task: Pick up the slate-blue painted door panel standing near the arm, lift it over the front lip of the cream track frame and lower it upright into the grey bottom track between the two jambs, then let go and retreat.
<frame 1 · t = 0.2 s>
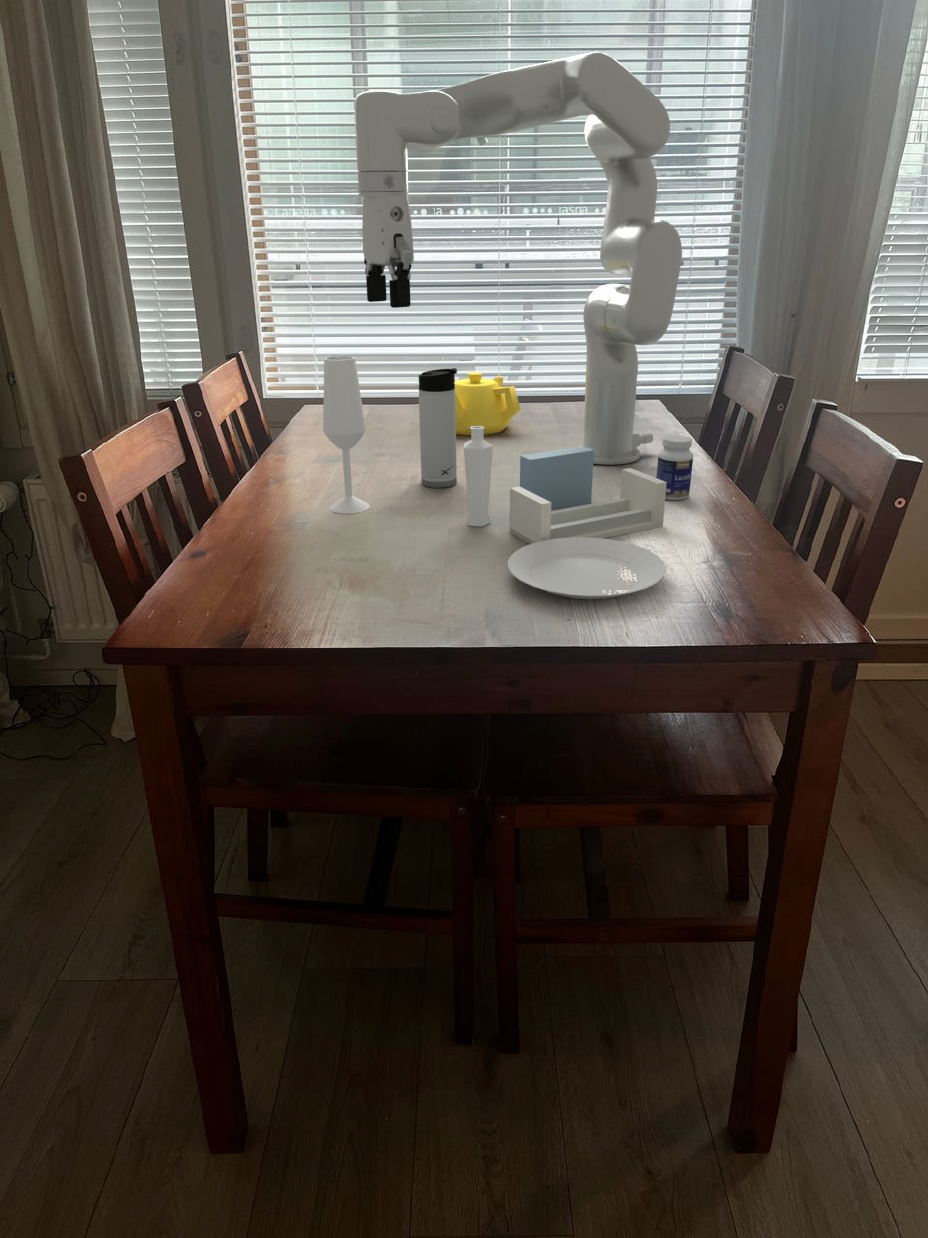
hand: (388, 303, 145), 31 cm above the table, fingers open, 9 cm apart
champagne flute: (349, 508, 151), on the table
travel mug: (440, 484, 162), on the table
plate: (585, 580, 122), on the table
perfume bottle: (477, 523, 143), on the table
teapot: (475, 429, 200), on the table
track frame: (586, 529, 139), on the table
door panel: (555, 506, 150), on the table
pill bottle: (671, 497, 154), on the table
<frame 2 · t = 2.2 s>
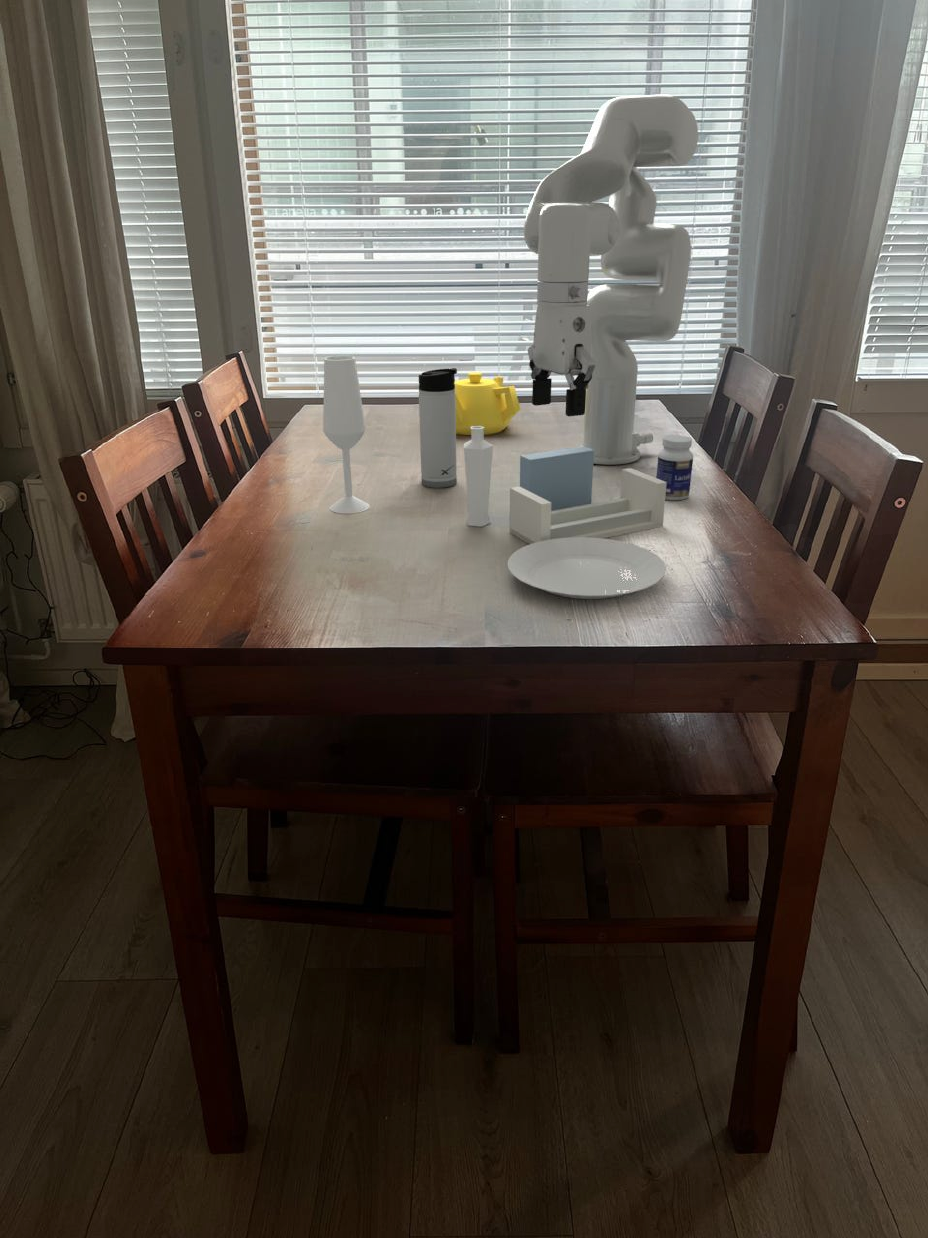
hand: (557, 409, 143), 16 cm above the table, fingers open, 9 cm apart
nothing on the table moved.
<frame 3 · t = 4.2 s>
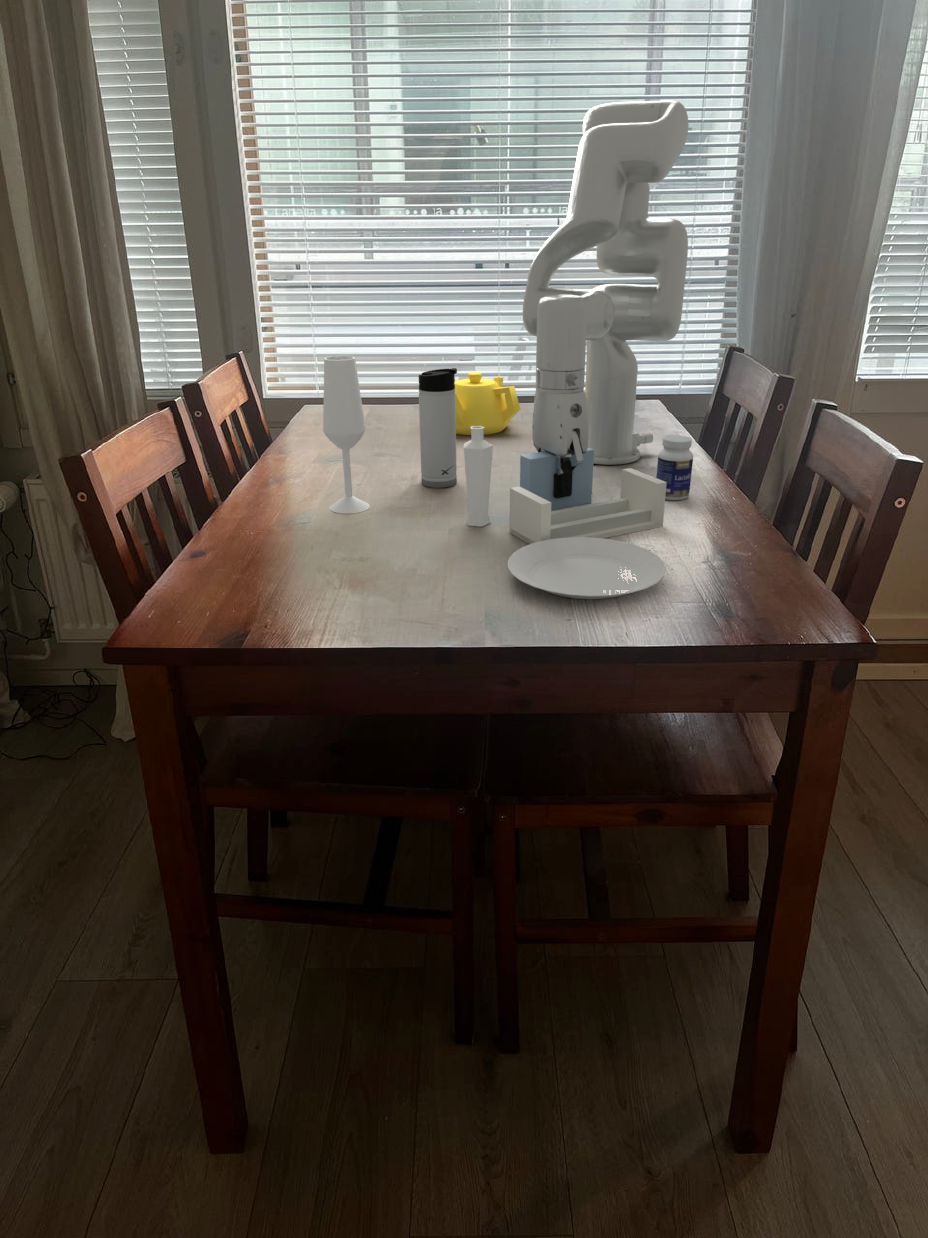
hand: (556, 492, 149), 2 cm above the table, fingers closed on door panel, 3 cm apart
door panel: (555, 506, 150), on the table, touching gripper
everything else where it was.
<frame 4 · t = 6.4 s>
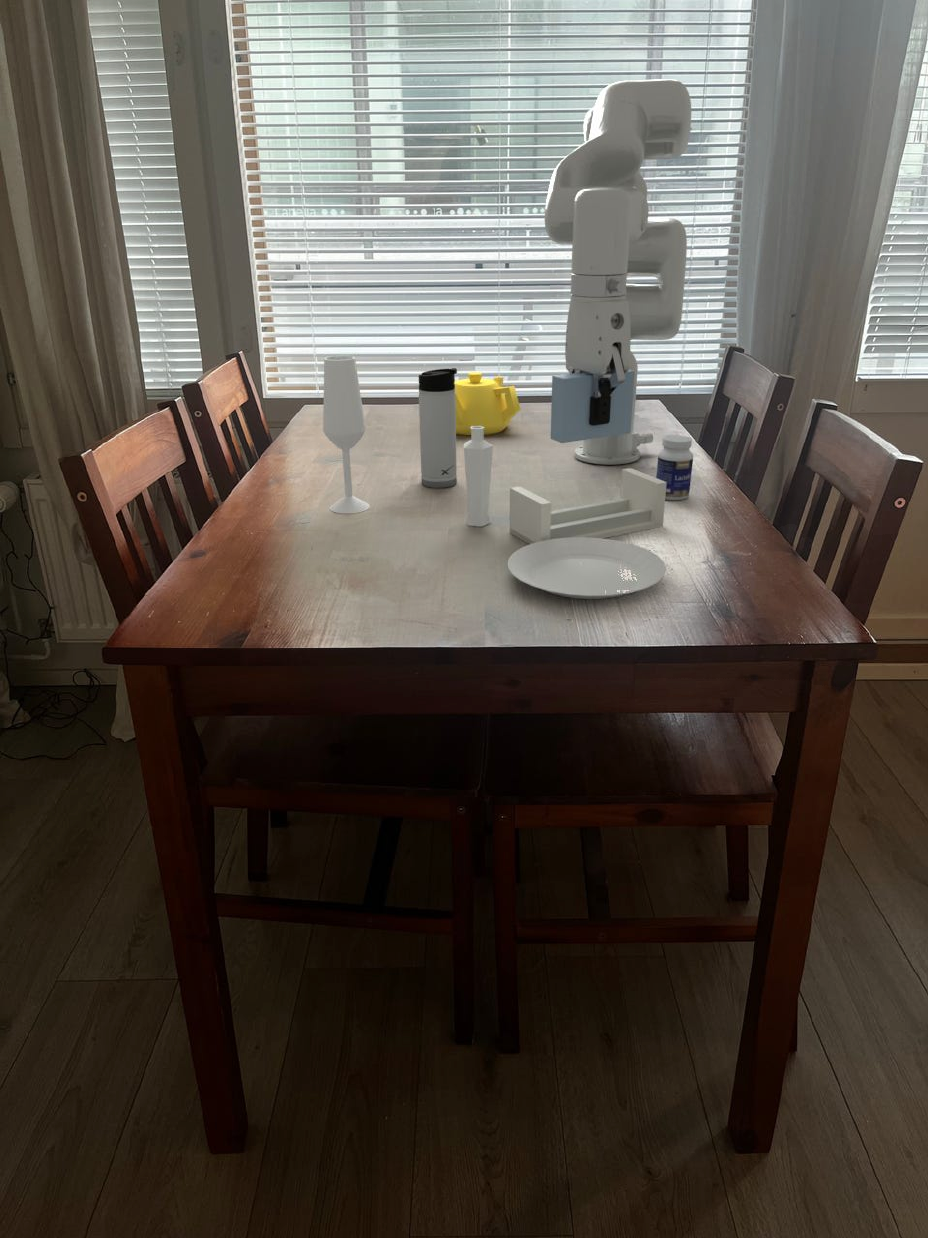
hand: (591, 420, 132), 17 cm above the table, fingers closed on door panel, 3 cm apart
door panel: (590, 435, 133), point 14 cm above the table, touching gripper
everything else where it was.
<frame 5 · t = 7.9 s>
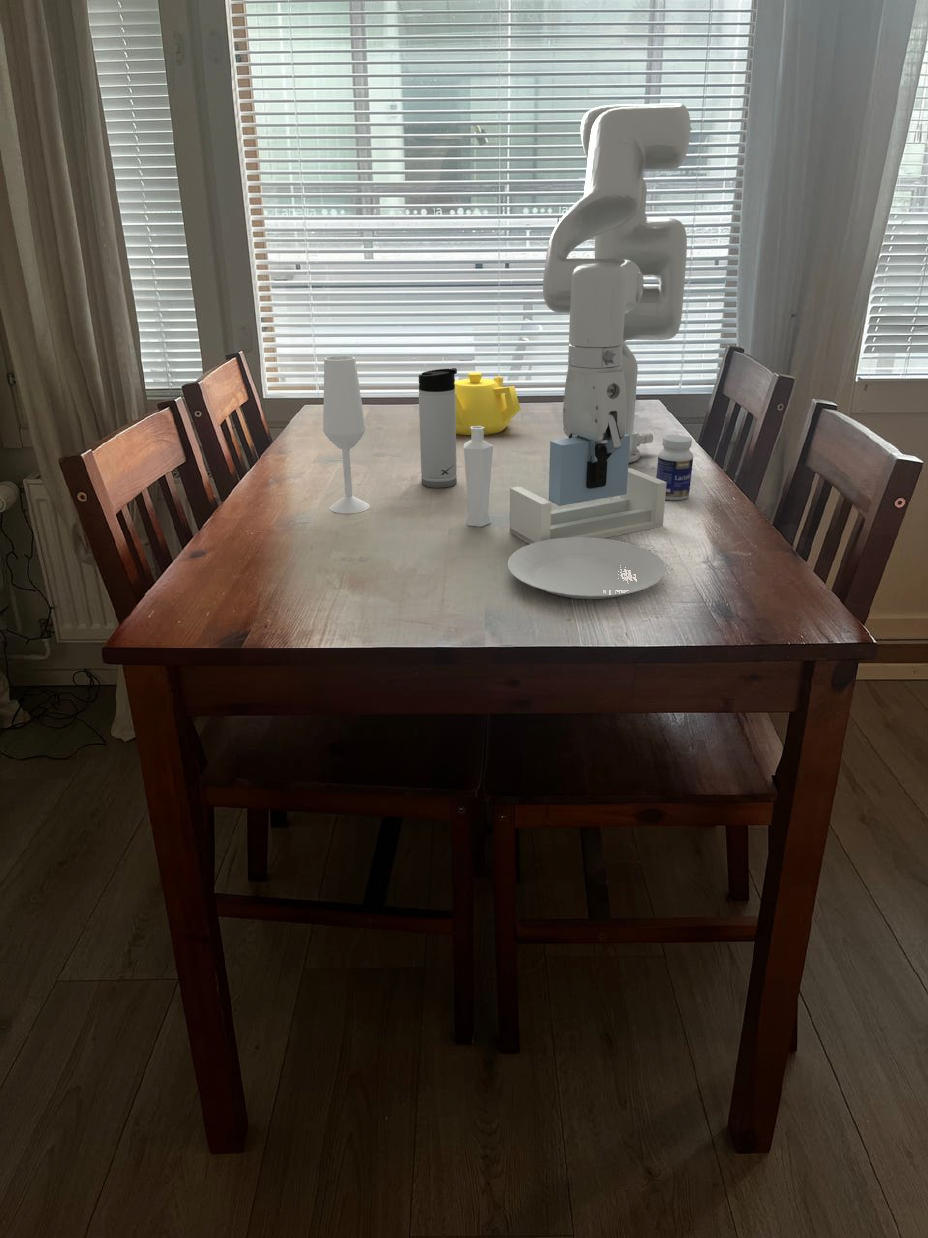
hand: (588, 482, 136), 7 cm above the table, fingers closed on door panel, 3 cm apart
door panel: (587, 497, 137), point 5 cm above the table, touching gripper
everything else where it was.
when the fingers open (4 cm above the table, at t = 8.8 s): door panel drops 1 cm, resting on track frame.
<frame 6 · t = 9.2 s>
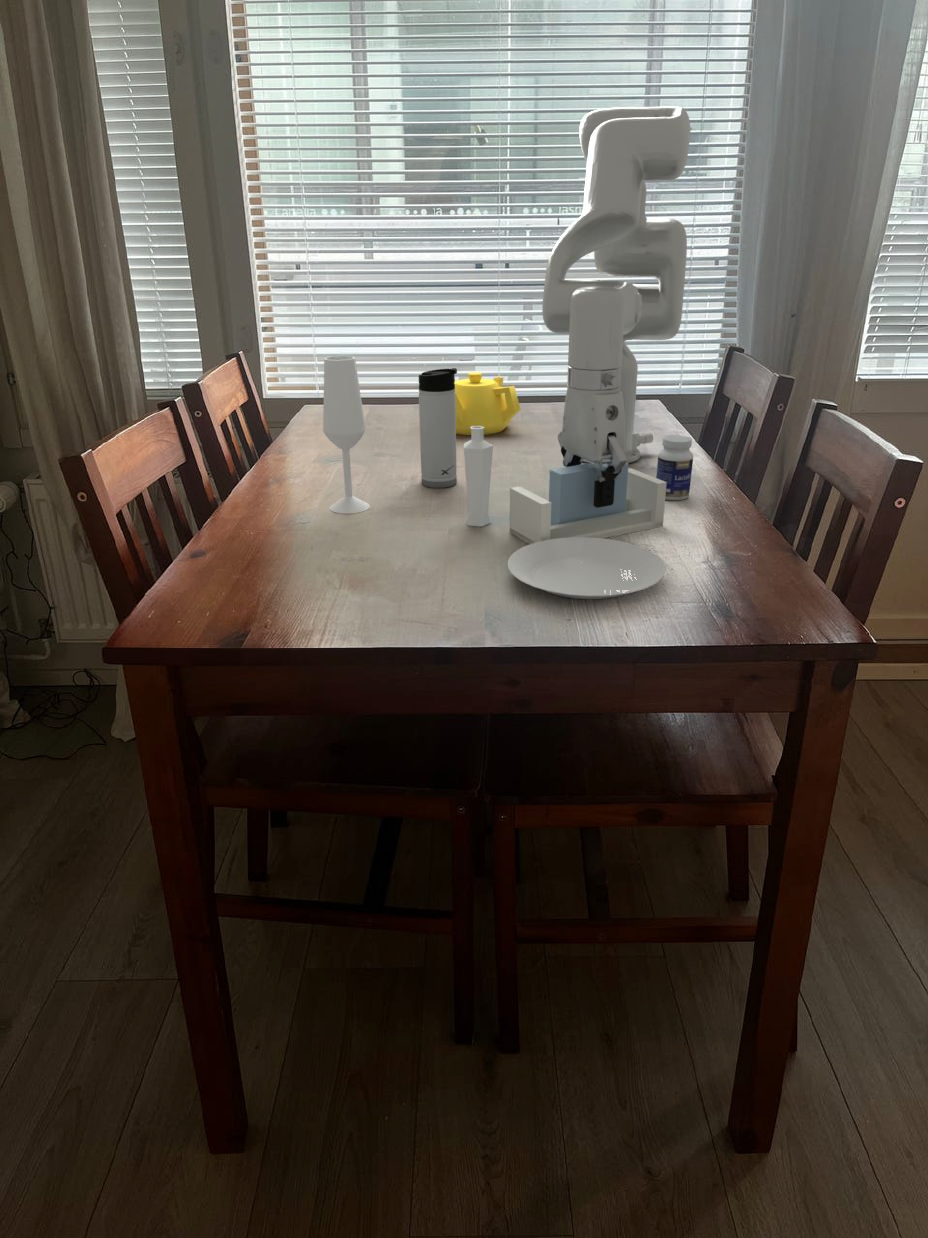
hand: (588, 497, 137), 5 cm above the table, fingers open, 7 cm apart
door panel: (586, 524, 139), point 1 cm above the table, touching track frame
everything else where it was.
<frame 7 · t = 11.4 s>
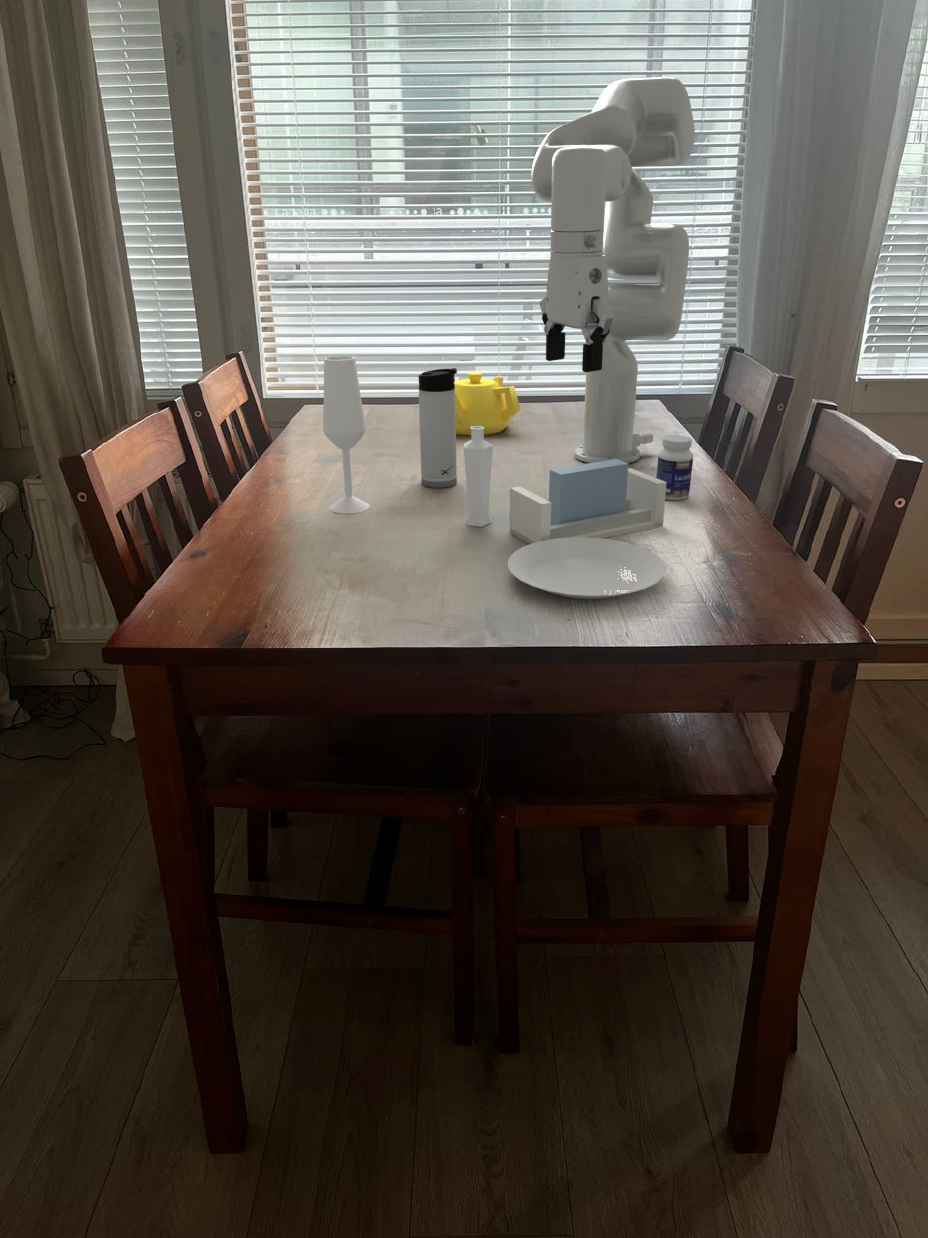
hand: (573, 365, 138), 23 cm above the table, fingers open, 9 cm apart
nothing on the table moved.
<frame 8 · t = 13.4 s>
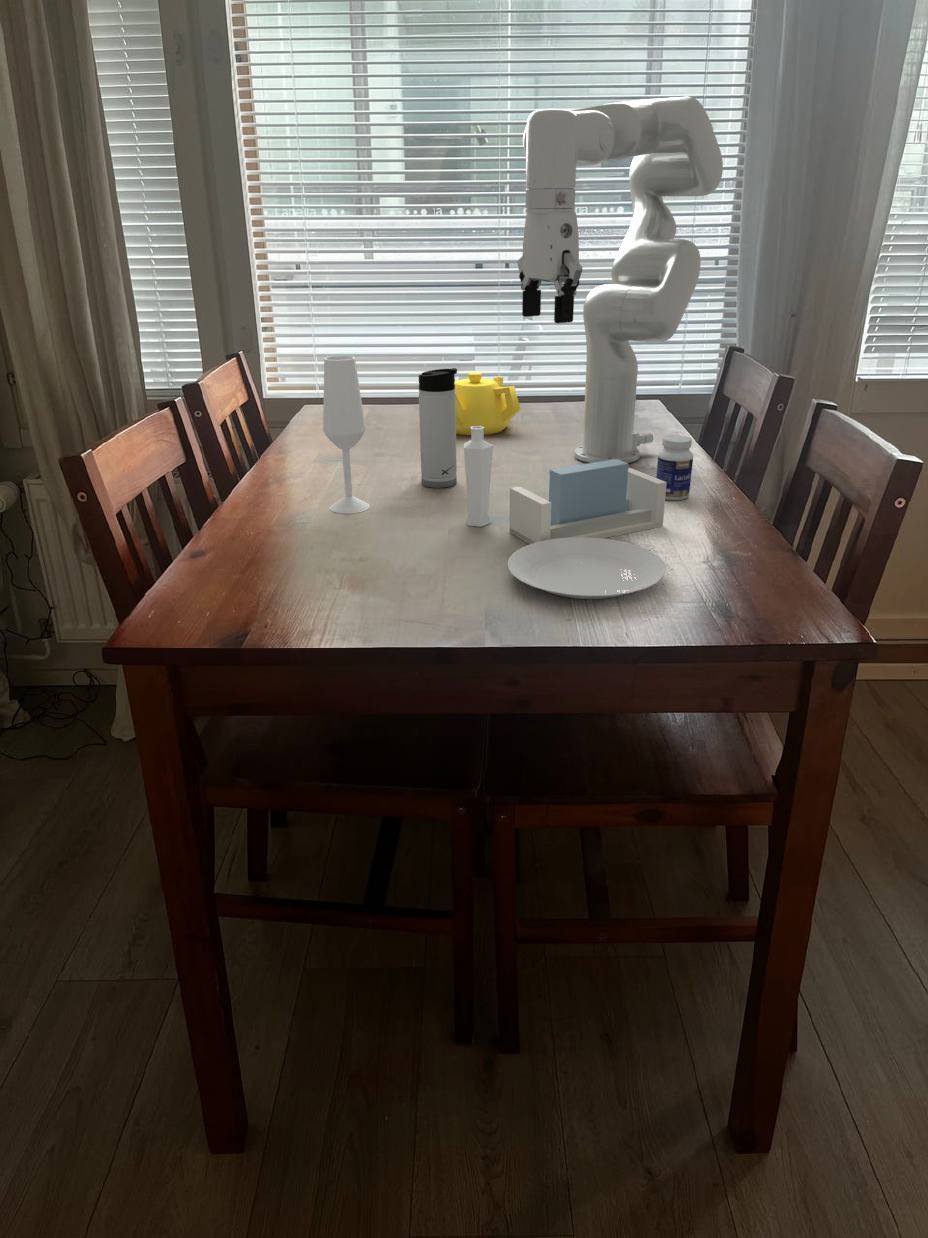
hand: (547, 319, 146), 28 cm above the table, fingers open, 9 cm apart
nothing on the table moved.
at the end: door panel 0.1 cm off-centre on the track frame, point 0.8 cm above the track frame's base; door panel tilted 0°; the gripper is holding nothing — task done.
